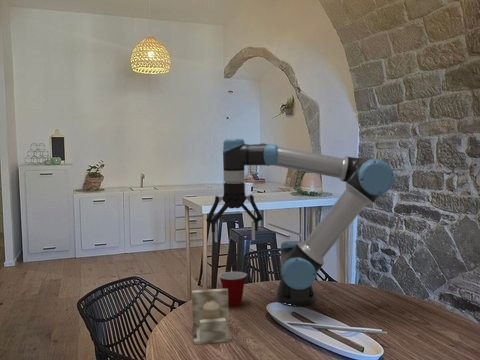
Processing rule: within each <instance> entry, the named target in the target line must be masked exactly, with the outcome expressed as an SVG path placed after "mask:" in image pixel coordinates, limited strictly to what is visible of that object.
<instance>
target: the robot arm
mask: <svg viewBox="0 0 480 360" xmlns="http://www.w3.org/2000/svg"><path fill="white" fill-rule="evenodd" d="M222 148H223V149H222V160H223V182H224V183H223V196H219V195H215V197H214V201H213V205H212V206H211V209H210V210H209V213H208V214H207V216H206V220H205V221H206V223H209V224H210V225H211V226H210V227H211V228H210V229H211V233H213V234H214V242H215V243H218V223H217V222H218V220H219V219H220V218H221V217H222V215H223V214H224V213H225V212H226V211H227V209H228V208H229V209H240V208H242V209H243V210H244V212H245V213H246V214H247V215H248V216H249V217H250V219H252V220H253V221H251V240H252V241H256V231H257V232H258V229H259V228H258V226H259V224H258V223H259V222H260V221H263V220H264V218H263V215H262V214H261V212H260V210H259V208H258V206H257V204H256V202H255V200H254V199H255V197H254V195H252V194H249V195H245V194H246V191H245V190H246V189H245V188H246V187H245V186H246V185H245V179H246V178H245V166H246V167H247V166H267V167H269V166H275V167H280V168H285V169H291V170H295V171H301V172H305V173H306V172H307V173H311V174H317V175H322V176H327V177H331V178H337V179H339V180H340V181H341V182H345V190H344V191H343V192H342V194H341V195H340V196H339V198H338V199H337V200H336V202H335V203H334V204H333V205H332V207H331V208H329V211H328V212H327V213H326V214H325V215H324V217H323V218H322V219H321V220H320V221H319V223H318V224H317V225H316V226H315V228H314V229H313V230H312V232H311V233H310V234H309V235H308V236H307V238H306V239H305V240H304V241H302V240H300V241H299V240H290V241H282V242H281V243H280V281H279V283H278V287H277V290H276V295H275V296H276V298H275V299H276V300H277V302H279V303H281V304H282V303H286V304H291V305H296V306H295V307H304V306H309V305H312V304H314V302H315V301H316V294H315V291H314V288H313V284H314V282H315V280H316V278H317V273H318V272H319V271H320V269H322V267H323V266H324V264H325V261H324V258H325V256H326V255H327V254H328V253H329V252H330V250H331V249H332V247H334V245H335V244H336V243H337V241H338V240H340V238H341V237H342V235H344V233H345V231H346V230H347V229H348V228H349V226H350V225H351V224H352V223H353V222H354V220H355V219H356V218H357V216H358V215H359V214H360V213H361V212H362V210H363V209H364V208H365V207H366V205H372V204H374V203H375V201H376V200H377V199H378V198H379V197H380V196H381V195H383V194H385V193H387V192H389V190H390V189H391V188H392V186H393V185H394V182H395V181H394V180H395V175H394V170H393V169H392V167H391V166H390V164H388V163H387V162H386V161H384V160H382V159H379V158H372V157H354V156H353V157H352V156H344V157H338V156H331V155H325V154H321V153H315V152H309V151H304V150H300V149H294V148H293V149H292V148H290V147H284V146H283V147H282V146H278V144H276V143H275V144H274V143H273V144H272V143H263V142H261V143H257V144H256V143H255V144H253V143H252V144H247V143H245V140H244V139H243V138H227V139H224V141H223V147H222ZM246 200H247V201H248V202H249V203H250V205H251V206H252V209H253V211H254V212H255V214H256V216H257V217H256V216H255V215H254V214H253V213H252V212H251V210H250V209H249V208H248V207H247V206H246V204H245V202H246ZM221 201H223V203H224V204H223V205H222V206H221V208H220V209H219V210H218V211H217V213H216V214H215V216H214V213H215V212H216V209H217V208H218V205H219V203H221ZM213 216H214V217H213Z"/></svg>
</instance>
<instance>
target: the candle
mask: <svg viewBox="0 0 480 360" xmlns="http://www.w3.org/2000/svg"><path fill="white" fill-rule="evenodd" d="M218 318H220V306H219V304H218V303H216V302H214V301H213V300H211V301H210V302H208V301H207V302H206V303H205V304H204V305H203V320H205V319H218Z"/></svg>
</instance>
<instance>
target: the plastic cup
mask: <svg viewBox="0 0 480 360" xmlns="http://www.w3.org/2000/svg"><path fill="white" fill-rule="evenodd" d="M247 276H248V275H247V273H245V272H244V271H243V272H242V271H225V272H221V273H220V274H218V277H219V279H220V283H221V287H222V288H221V289H225V288H228V308H237V307H240V306H241V304H242V300H243V299H242V298H243V294H244V288H245V283H246V278H247Z"/></svg>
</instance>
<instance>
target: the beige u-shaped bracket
mask: <svg viewBox="0 0 480 360" xmlns="http://www.w3.org/2000/svg"><path fill="white" fill-rule="evenodd" d="M191 294H192V295H191V301H192V302H191V305H192V308H191V309H192V310H191V312H192V332H193V333H192V335H193V345H201V344H212V343H213V344H214V343H215V344H216V343H226V342H227V343H228V342H233V336H232V333H231V329H230V325H229V324H230V323H229V320H230V319H229V318H230V317H229V314H230V313H229V307H228V288H225V289H223V288H212V289H209V288H208V289H196V290H191ZM211 300H213V301H214V302H216V303H218V304H219V306H220V318H218V319H205V320H203V305H204V304H205V303H206V302H207V301H208V302H210V301H211Z"/></svg>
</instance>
